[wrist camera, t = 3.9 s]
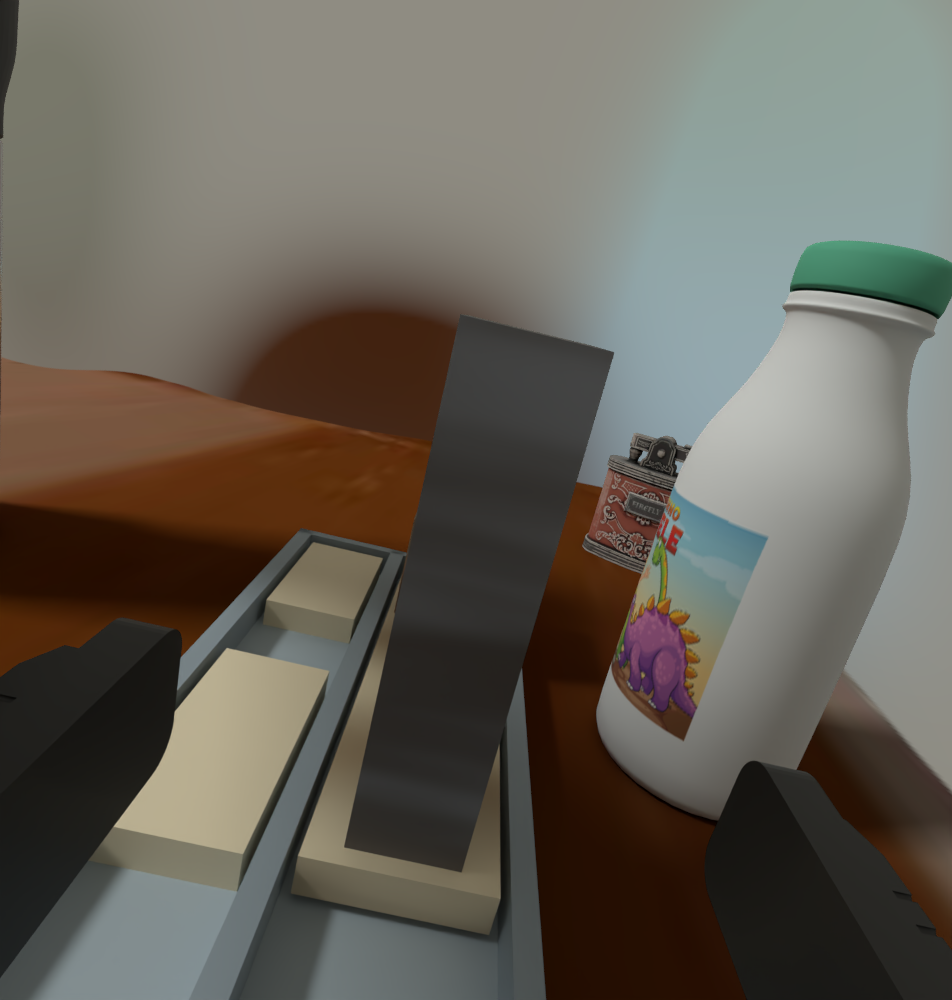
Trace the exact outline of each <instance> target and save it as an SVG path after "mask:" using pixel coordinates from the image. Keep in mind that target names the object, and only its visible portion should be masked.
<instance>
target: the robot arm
mask: <svg viewBox="0 0 952 1000" xmlns="http://www.w3.org/2000/svg"><path fill="white" fill-rule="evenodd" d="M18 7H19V0H0V139H1V138H3V115H4V102H5V97H6V93H7V89H8V85H9V82H10V78H11V74H12V71H13V66H14V62H15V56H16V47H17V29H18V28H17V27H18ZM2 182H3V143H2V141H1V140H0V412H1V321H2V230H3V229H2V228H3V226H2V225H3V221H2V219H1V218H2V187H3V183H2ZM181 649H182V637H181V634H180V632H179V631H178V630H176V629H172V628H167V627H163V626H158V625H154V624H149V623H145V622H140V621H136V620H131V619H127V618H118V619H116V620H114V621H113V622H111V623H110V624H109V625H108V626H106V627H105V628H104V629H103V630H101V631H100V632H99V633H98V634H96V635H95V636H94V637H93V638H91V639H90V640H89V641H88V642H86V643H85V644H84V645H83V646H81V647H80V648H75V647H70V646H66V645H64V646H62V647H59V648H57V649H54V650H52V651H49V652H47V653H44V654H42V655H39V656H37V657H34V658H32V659H29V660H27V661H24V662H22V663H19V664H18V665H16V666H15V667H14V668H12V669H11V670H10V671H8V672H7V673H5V674H4V675H3V676H1V677H0V978H1V977H2V975H3V974H4V973H5V971H6V970H7V969H8V967H9V966H10V965H11V963H12V962H13V961H14V959H15V958H16V957H17V955H18V954H19V952H20V951H21V950H22V948H23V947H24V946H25V944H26V943H27V942H28V940H29V939H30V938H31V936H32V935H33V934H34V932H35V931H36V930H37V928H38V927H39V926H40V924H41V923H42V922H43V920H44V919H45V918H46V916H47V915H48V914H49V912H50V911H51V910H52V908H53V907H54V906H55V904H56V903H57V902H58V900H59V899H60V898H61V896H62V895H63V894H64V892H65V891H66V890H67V888H68V887H69V886H70V884H71V883H72V882H73V880H74V879H75V878H76V876H77V875H78V874H79V872H80V871H81V870H82V868H83V867H84V866H85V864H86V863H87V862H88V860H89V859H90V858H91V856H92V855H93V854H94V852H95V851H96V850H97V848H98V847H99V846H100V844H101V843H102V842H103V840H104V839H105V838H106V836H107V835H108V834H109V832H110V831H111V829H112V828H113V827H114V825H115V824H116V823H117V821H118V820H119V819H120V817H121V816H122V815H123V813H124V812H125V811H126V809H127V808H128V807H129V805H130V804H131V803H132V801H133V800H134V799H135V797H136V796H137V795H138V793H139V792H140V791H141V789H142V788H143V787H144V785H145V784H146V783H147V781H148V780H149V779H150V777H151V776H152V775H153V773H154V772H155V770H156V769H157V767H158V765H159V763H160V761H161V760H162V757H163V755H164V753H165V751H166V748H167V746H168V743H169V740H170V737H171V733H172V729H173V723H174V715H175V705H176V696H177V687H178V677H179V668H180V659H181ZM705 881H706V887H707V892H708V895H709V898H710V901H711V903H712V906H713V909H714V912H715V914H716V917H717V920H718V922H719V925H720V928H721V931H722V933H723V936H724V939H725V942H726V944H727V947H728V950H729V953H730V955H731V958H732V961H733V963H734V966H735V969H736V972H737V974H738V977H739V980H740V983H741V985H742V988H743V991H744V994H745V996H746V999H747V1000H952V950H951V949H950V948H949V946H948V945H947V943H946V942H945V941H944V939H943V938H941V937H937V936H936V932H935V931H936V928H935V927H934V925H933V924H932V923H931V921H930V920H929V918H928V917H927V916H926V914H925V913H924V911H923V910H922V909H921V907H920V906H919V904H918V903H916V902H912V900H911V893H910V892H909V890H908V889H907V888H906V886H905V885H904V883H903V882H902V881H901V879H900V878H899V876H898V875H897V874H896V872H895V871H894V869H893V868H892V867H891V865H890V864H889V862H888V861H887V860H886V858H885V857H884V856H883V855H882V854H881V853H880V852H879V851H878V850H877V849H876V848H875V847H874V846H873V845H872V844H871V843H870V842H869V841H868V840H866V839H865V838H864V837H863V836H862V835H861V834H860V833H859V832H858V831H857V830H856V829H855V828H854V827H853V826H852V825H851V824H850V823H848V822H847V821H846V820H844V819H843V818H842V817H841V815H840V814H839V812H838V811H837V810H836V808H835V807H834V805H833V804H832V802H831V801H830V799H829V798H828V796H827V795H826V794H825V792H824V791H823V789H822V788H821V786H820V785H819V783H818V782H817V781H816V779H815V778H814V777H813V776H812V775H810V774H809V773H807V772H803V771H799V770H794V769H790V768H786V767H781V766H777V765H772V764H768V763H763V762H759V761H750V762H748V763H746V764H745V765H744V766H743V768H742V769H741V771H740V773H739V775H738V777H737V779H736V781H735V784H734V786H733V788H732V790H731V793H730V795H729V797H728V800H727V802H726V804H725V806H724V809H723V811H722V813H721V815H720V818H719V820H718V822H717V824H716V827H715V829H714V831H713V834H712V836H711V838H710V840H709V843H708V846H707V850H706V856H705Z"/></svg>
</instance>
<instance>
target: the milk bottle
mask: <svg viewBox="0 0 952 1000" xmlns="http://www.w3.org/2000/svg"><path fill="white" fill-rule="evenodd" d="M790 292H791V293H790V294H789V296H788V299H787V301H786V303H784V304H783V309H784V310H785V311H786V319H785V322H784V325H783V328H782V330H781V332H780V334H779V336H778V338H777V340H776V341H775V343H774V345H773V346H772V348H771V349H770V351H769V352H768V354H767V355H766V357H765V358H764V359H763V361H762V362H761V364H760V365H759V366H758V368H757V369H756V370H755V372H754V373H753V374H752V376H751V377H750V378H749V379H748V380H747V381H746V383H745V384H744V385H743V386H742V387H741V388H740V389H739V390H738V392H737V393H736V394H735V395H734V396H733V397H732V398H731V399H730V400H729V401H728V402H727V403H726V404H725V405H724V407H722V409H721V410H720V411H719V412H718V413H717V414H716V415H715V417H714V418H713V419H712V420H711V421H710V422H709V423H708V425H707V426H706V427H705V429H704V430H703V431H702V433H701V434H700V435H699V437H698V438H697V440H696V442H695V443H694V445H693V447H692V448H691V450H690V452H689V454H688V456H687V458H686V460H685V462H684V464H683V466H682V468H681V470H680V472H679V474H678V477H677V479H676V482H675V484H674V487H673V490H672V492H671V495H670V497H669V500H668V502H667V505H666V507H665V510H664V513H663V515H662V518H661V521H660V524H659V527H658V530H657V532H656V535H655V538H654V541H653V544H652V547H651V549H650V552H649V555H648V558H647V561H646V564H645V566H644V569H643V572H642V575H641V578H640V581H639V583H638V586H637V589H636V592H635V595H634V598H633V601H632V604H631V607H630V610H629V613H628V616H627V618H626V621H625V624H624V627H623V630H622V633H621V636H620V639H619V642H618V645H617V648H616V651H615V654H614V657H613V660H612V662H611V665H610V668H609V671H608V674H607V677H606V680H605V683H604V686H603V689H602V693H601V696H600V699H599V703H598V706H597V711H596V718H597V726H598V732H599V735H600V737H601V740H602V743H603V745H604V747H605V748H606V750H607V751H608V753H609V755H610V756H611V758H612V759H613V760H614V761H615V762H616V763H617V764H618V766H619V767H620V768H621V769H622V770H623V771H624V772H625V773H626V774H627V775H629V776H630V777H631V778H632V779H633V780H634V781H635V782H636V783H638V784H639V785H641V786H642V787H643V788H645V789H646V790H648V791H649V792H650V793H652V794H653V795H655V796H657V797H658V798H660V799H662V800H664V801H666V802H667V803H669V804H671V805H673V806H675V807H677V808H680V809H682V810H684V811H687V812H689V813H691V814H694V815H698V816H702V817H705V818H708V819H711V820H719V818H720V815H721V813H722V811H723V809H724V806H725V804H726V802H727V800H728V797H729V795H730V793H731V790H732V788H733V786H734V784H735V781H736V779H737V777H738V775H739V773H740V771H741V769H742V768H743V766H744V765H745V764H746V763H748V762H750V761H759V762H763V763H768V764H772V765H777V766H781V767H786V768H790V769H794V770H796V769H797V767H798V765H799V763H800V761H801V759H802V757H803V755H804V752H805V750H806V748H807V746H808V744H809V742H810V740H811V738H812V736H813V733H814V731H815V729H816V727H817V725H818V723H819V720H820V718H821V716H822V714H823V712H824V710H825V708H826V705H827V703H828V701H829V699H830V697H831V695H832V693H833V690H834V688H835V686H836V684H837V682H838V680H839V677H840V675H841V673H842V671H843V669H844V667H845V665H846V662H847V660H848V658H849V655H850V653H851V651H852V649H853V647H854V645H855V643H856V640H857V638H858V636H859V634H860V631H861V629H862V627H863V625H864V622H865V620H866V618H867V616H868V614H869V611H870V609H871V607H872V605H873V603H874V601H875V598H876V596H877V594H878V592H879V590H880V587H881V584H882V582H883V580H884V577H885V575H886V572H887V570H888V568H889V565H890V562H891V560H892V558H893V555H894V553H895V550H896V548H897V545H898V543H899V540H900V536H901V533H902V530H903V526H904V523H905V520H906V515H907V510H908V504H909V498H910V483H911V474H910V456H909V443H908V428H907V427H908V426H907V409H908V394H909V386H910V378H911V372H912V367H913V363H914V360H915V357H916V354H917V352H918V349H919V347H920V346H921V344H922V343H923V341H924V340H925V339H927V338H930V337H933V336H934V335H935V332H934V328H935V326H936V323H937V319H939V318H940V317H941V315H942V314H943V313H944V311H945V309H946V307H947V305H948V303H949V301H950V299H951V297H952V263H951V262H949V261H947V260H945V259H943V258H941V257H938V256H935V255H932V254H929V253H926V252H922V251H918V250H914V249H910V248H905V247H900V246H894V245H888V244H881V243H872V242H862V241H828V242H820V243H815V244H813V245H811V246H809V247H807V248H806V250H805V251H804V253H803V254H802V255H801V257H800V260H799V262H798V265H797V267H796V269H795V272H794V275H793V279H792V282H791V286H790Z"/></svg>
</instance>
